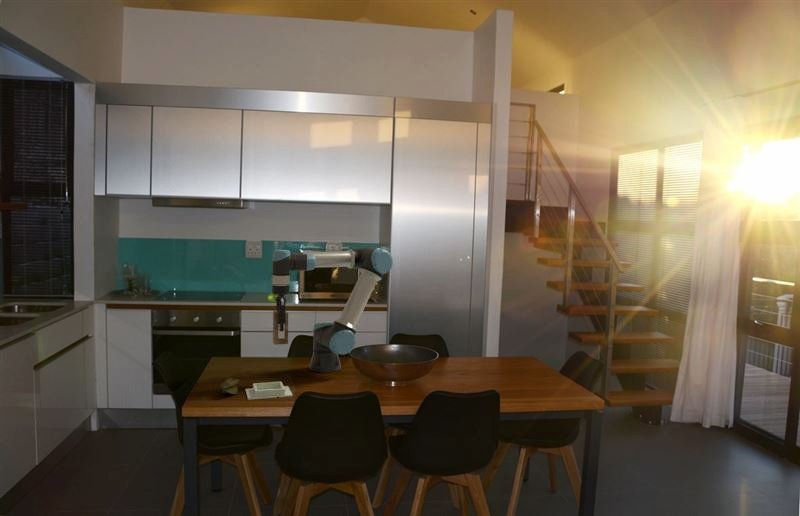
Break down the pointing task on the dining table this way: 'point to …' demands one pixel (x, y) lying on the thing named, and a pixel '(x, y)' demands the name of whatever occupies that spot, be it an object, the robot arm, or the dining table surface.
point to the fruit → (230, 386)
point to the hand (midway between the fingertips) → (280, 336)
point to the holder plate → (268, 391)
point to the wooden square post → (275, 329)
